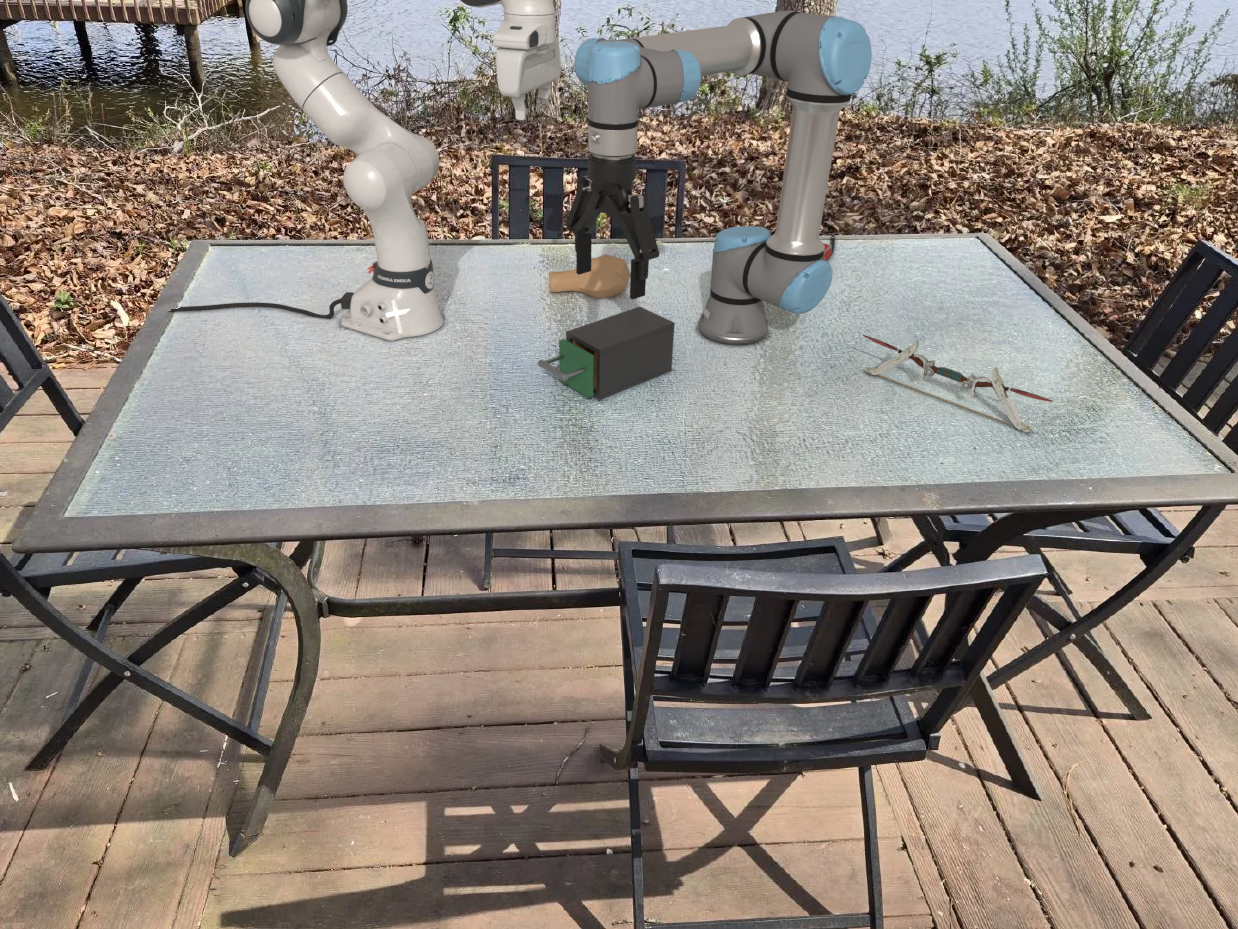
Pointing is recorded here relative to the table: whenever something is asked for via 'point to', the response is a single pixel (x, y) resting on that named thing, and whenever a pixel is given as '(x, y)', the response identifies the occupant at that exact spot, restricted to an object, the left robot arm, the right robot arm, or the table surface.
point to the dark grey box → (627, 348)
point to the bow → (967, 383)
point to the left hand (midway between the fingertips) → (532, 113)
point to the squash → (594, 278)
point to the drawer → (574, 367)
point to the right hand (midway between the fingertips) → (609, 284)
